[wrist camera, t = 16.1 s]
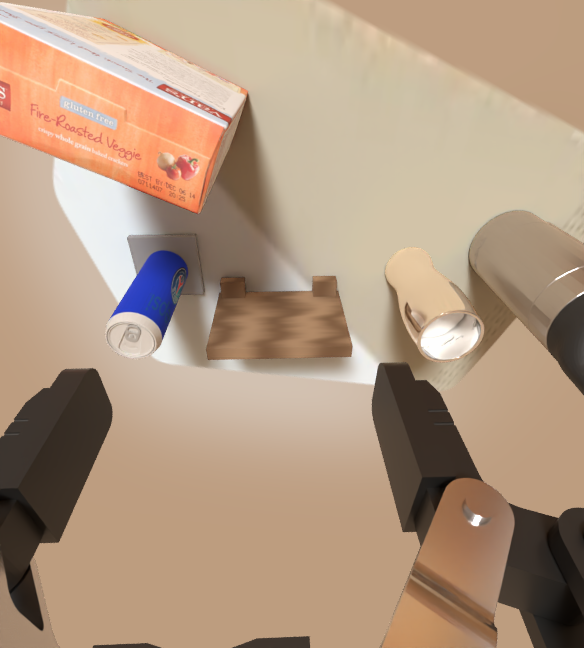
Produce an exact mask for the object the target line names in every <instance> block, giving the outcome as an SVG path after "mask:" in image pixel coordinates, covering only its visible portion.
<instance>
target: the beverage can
mask: <svg viewBox="0 0 584 648" xmlns="http://www.w3.org/2000/svg"><path fill="white" fill-rule="evenodd" d="M187 277H188V267H187V265H186V263H185V261H184V260H183V259H182V258H181V257H180V256H179V255H177V254H176V253H173V252H171V251H166V250H161V251H156V252H154V253H152V254H151V255H150V256H149V257H148V259H147V260H146V262H145V263H144V265H143V267H142V268H141V270H140V271H139V273H138V275H137V276H136V278H135V279H134V281H133V282H132V284H131V286H130V287H129V289H128V290H127V292H126V294H125V295H124V297H123V298H122V300H121V302H120V303H119V305H118V306H117V308H116V310H115V311H114V313H113V315H112V316H111V318H110V319H109V321H108V323H107V325H106V333H105V338H106V342H107V344H108V345H109V347H110V348H111V349H112V350H113V351H115V352H116V353H117V354H119V355H121V356H124V357H126V358H131V359H142V358H146V357H148V356H150V355H152V354H153V353H154V352H155V351H156V350H157V349H158V348H159V346H160V345H161V342H162V340H163V337H164V335H165V332H166V330H167V327H168V325H169V322H170V320H171V317H172V315H173V312H174V310H175V307H176V304H177V302H178V299H179V297H180V294H181V292H182V289H183V287H184V284H185V282H186V279H187Z"/></svg>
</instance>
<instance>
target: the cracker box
mask: <svg viewBox="0 0 584 648" xmlns="http://www.w3.org/2000/svg"><path fill="white" fill-rule="evenodd" d="M247 95H248V91H247V90H245V89H243V88H241V87H239V86H237V85H235V84H233V83H231V82H229V81H227V80H225V79H223V78H221V77H219V76H217V75H215V74H213V73H211V72H209V71H207V70H205V69H203V68H201V67H199V66H197V65H195V64H193V63H191V62H189V61H187V60H185V59H183V58H181V57H179V56H177V55H175V54H173V53H171V52H169V51H167V50H165V49H163V48H161V47H159V46H157V45H155V44H153V43H151V42H149V41H147V40H145V39H143V38H141V37H139V36H137V35H135V34H133V33H131V32H129V31H127V30H125V29H123V28H121V27H119V26H117V25H115V24H113V23H111V22H109V21H107V20H105V19H101V18H95V17H89V16H83V15H77V14H70V13H64V12H58V11H51V10H45V9H39V8H34V7H26V6H21V5H15V4H10V3H3V2H0V136H2V137H5V138H7V139H10V140H12V141H15V142H18V143H20V144H23V145H26V146H28V147H31V148H33V149H36V150H38V151H41V152H44V153H46V154H49V155H51V156H54V157H56V158H59V159H61V160H64V161H67V162H69V163H72V164H74V165H77V166H79V167H82V168H84V169H87V170H89V171H92V172H94V173H97V174H100V175H102V176H105V177H107V178H110V179H113V180H115V181H117V182H120V183H122V184H125V185H127V186H129V187H132V188H134V189H136V190H139V191H141V192H144V193H146V194H149V195H151V196H154V197H156V198H159V199H161V200H164V201H166V202H169V203H171V204H174V205H176V206H179V207H181V208H184V209H186V210H189V211H191V212H194V213H197V214H200V212H201V210H202V208H203V206H204V204H205V202H206V199H207V197H208V195H209V193H210V191H211V188H212V186H213V184H214V182H215V179H216V177H217V175H218V172H219V170H220V168H221V166H222V163H223V161H224V159H225V157H226V154H227V152H228V151H229V148H230V145H231V142H232V140H233V137H234V134H235V131H236V128H237V126H238V122H239V119H240V116H241V113H242V110H243V107H244V104H245V101H246V98H247Z"/></svg>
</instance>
